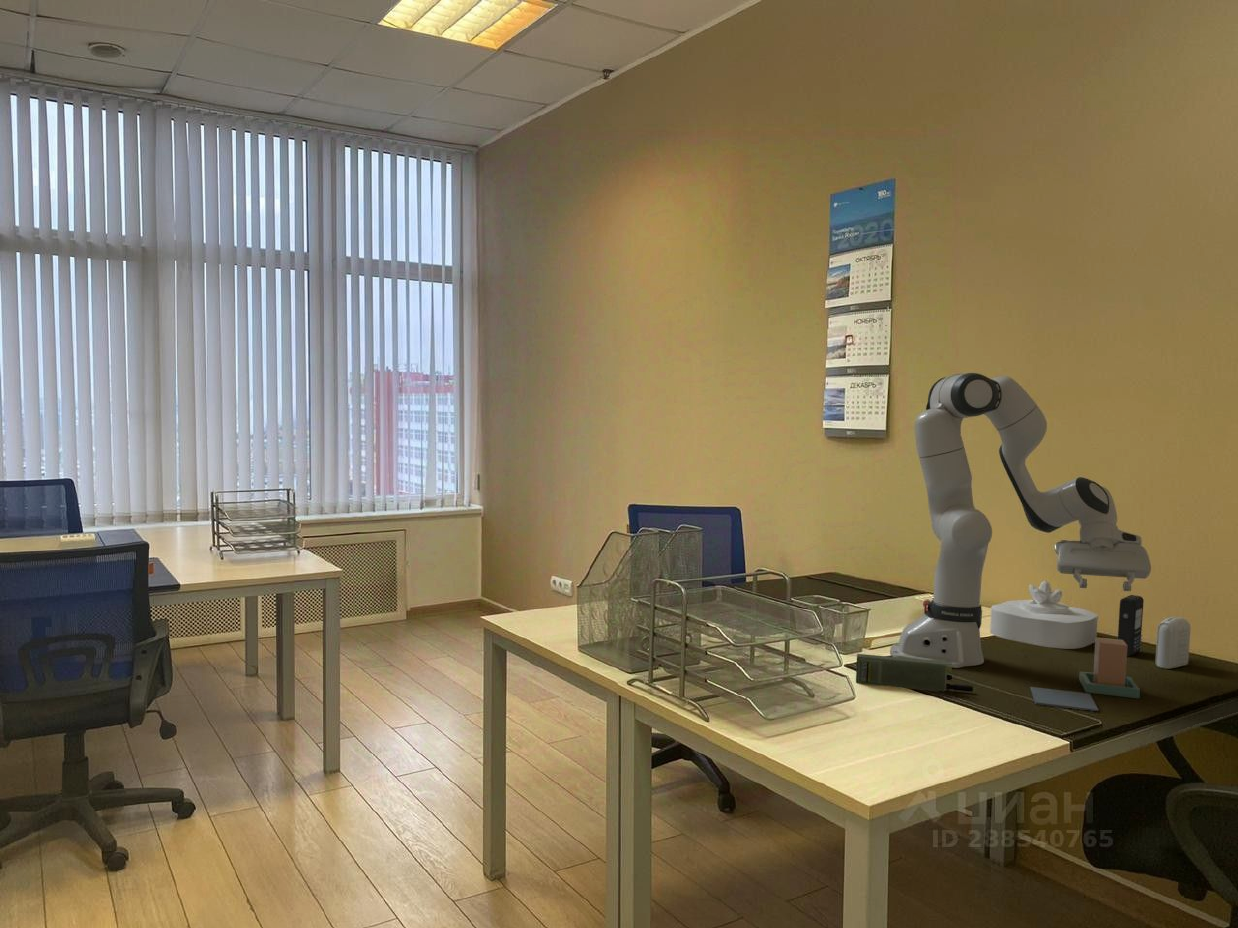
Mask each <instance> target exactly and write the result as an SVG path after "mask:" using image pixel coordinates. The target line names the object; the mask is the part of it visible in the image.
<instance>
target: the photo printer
mask: <svg viewBox="0 0 1238 928" xmlns="http://www.w3.org/2000/svg"><path fill="white" fill-rule="evenodd" d="M1190 639H1191V624H1190V622H1189V620H1187V619H1186V618H1184V617H1178V616H1171V617H1167V618H1166V619H1163V620H1162V621H1161V622H1160V623H1159V624H1158V625H1157V632H1156V649H1155V660H1154V661H1155V662H1154V663H1155V665H1156V667H1158V668H1161V669H1173V668H1174V669H1175V668H1179V667H1183V666H1187V665H1188V664H1189V658H1190V657H1189V655H1190Z"/></svg>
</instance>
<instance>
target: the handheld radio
mask: <svg viewBox="0 0 1238 928" xmlns="http://www.w3.org/2000/svg"><path fill="white" fill-rule="evenodd" d="M947 665H952V662H944V661H933V660H922V659H911V658H900V657H893V656H888V655H886V656H885V655H876V654H867V653H866V654H865V653H857V654H856V667H855V668H856V669H855V671H856V673H855V683H856V684H861V685H862V684H863V685H871V686H881V687H889V688H890V687H891V688H892V687H893V688H901V689H912V690H921V691H930V692H931V690H932V692H939V691H946V692H947V690H948V691H949V690H950V691H951V690H953V691H960V692H967V693H968V692H969V693H973V691H974V686H973V685H964V684H956V683H954V684H950V683H947V681H952V680H953V676H952V674H948V671H949V672H952V670H953V669H952V668H953V667H947ZM934 690H935V691H934Z"/></svg>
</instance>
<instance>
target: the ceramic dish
mask: <svg viewBox="0 0 1238 928" xmlns="http://www.w3.org/2000/svg"><path fill="white" fill-rule="evenodd" d="M1078 677H1079V678H1078V679H1079V682H1080V684H1081V685H1082V688H1083V689H1084V692H1085V693H1088V694H1099V695H1107V696H1115V697H1121V698H1133V699H1140V698H1141V697H1140V695H1141V689H1140V688H1139V686H1138V685H1137V684H1136V682H1135V681H1134V680H1133V678H1132V677H1131V676H1126V678H1125V687H1123V686H1114V685H1105V684H1096V683H1093V672H1089V671H1081V670H1080V671H1079V676H1078Z"/></svg>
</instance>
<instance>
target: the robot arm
mask: <svg viewBox="0 0 1238 928" xmlns="http://www.w3.org/2000/svg"><path fill="white" fill-rule="evenodd" d="M927 397H928V398H927V404H926V405H925V410H924V411H922V412H921V413H919V414H918V415H917V417H915V420H914V436H915V437H914V438H915V446H916V450H917V451H916V452H917V456H918V459H919V463H920V466H921V472H922V474H923V479H924V483H925V488H926V492H927V493H926V494H927V502H928V509H929V516H930V522H931V527H932V528H931V529H932V531H933V534H934V535H935V536H936V538H937V539H938V540H939V541H941V544H940V545H941V546H940V551H939V556H938V561H937V565H936V567H935V569H934V580H933V582H934V584H933V600H930V599H929V598H928V599H924V600H923V602H922V606H923V607H924V609H923V611H924V615H922V616H921V617H920V616H919V618H917V619H915V620H914V621H912V622H910V623H909V624H907V625H906V626H905V627H904V628H903V629H902V632H901V634H900V636H899V641H898V642H897V643H894V644H892V645H891V646H890V649H889V654H890V656H891V657H900V658H911V659H922V660H933V661H944V662H952V665H947V667H952V668H955V669H959V668H964V667H972V666H979V665H982V664H984V663H985V659H984V656H983V652H982V644H981V643H982V642H981V631H980V629H981V626H982V622H983V621H982V619H983V609H982V608H983V607H982V605H981V596H982V595H981V593H982V577H983V571H984V565H985V561H986V558H987V554H988V553H987V552H988V548H989V543H990V542H991V540H992V536H993V528H992V525H991V522H990V520H989V519H988V517H987V516H986V515H985V514H984V513H983V512H982V511H980V510H978V509H976V507H975V505H974V500H973V488H972V487H973V485H972V482H973V476H972V472H971V468H970V463H969V459H968V455H967V451H966V449H965V444H964V441H963V438H962V435H961V433H962V432H961V430H962V428H961V427H962V423H963V420H964V419H966V418H971V417H972V418H973V417H978V416H982V415H984V416H985V417H986V418H988V419H989V420H990V422H991V423H992V425H993V427H994V428H995V429H996V431H997V433H998V434H999V436H1000V440H1001V445H1000V447H999V450H998V454H999V458H1000V461H1001V463H1002V466H1003V468H1004V470H1005V472H1006V475H1007V476H1008V479H1009V480H1010V482H1011V485H1012V487H1013V489H1014V491H1015V493H1016V494H1017V497H1018V499H1019V500H1020V503H1021V505H1022V509H1023V511H1024V514H1025V518H1026V519H1027V522H1028V524H1030V526H1031V527H1032V528H1033V529H1036V530H1038V531H1040V532H1043V533H1047V534H1049V533H1052V532H1054V531H1056V530H1058V529H1060V528H1062V527H1064V526H1066V525H1068V524H1071V523H1073V522H1077V521H1078V524H1079V526H1080V529H1079V539H1080V540H1066V539H1063V540H1060V541H1058V542H1056V543H1055V544H1054V551H1055V553H1056V554H1057V559H1056V561H1057V563H1056V570H1057V572H1059V573H1060V574H1064V575H1066V574H1067V575H1073V578H1074V579H1075V581H1077V583H1078V585H1079V589H1087V588H1088V580H1087V579H1088V578H1083V576H1095V577H1096V576H1097V577H1098V576H1099V577H1110V578H1111V577H1114V578H1115V577H1116V578H1126V581H1125V580H1124V581H1123V584H1122V590H1123V592H1131V591H1132V584H1133V582H1134V581H1135V579H1147V578H1149V576H1150V573H1151V570H1152V566H1151V560H1150V557H1149V554H1148V552H1147V549H1146V547H1144V546H1143V545H1142V541H1143V540H1142V537H1141V536H1140V535H1137V534H1134V533H1131V532H1130V533H1129V532H1126V531H1124V530H1121V529H1119V527H1118V525H1117V522H1118V514H1117V508H1116V505H1115V501H1114V499H1113V495H1112V493H1111V492H1110V491H1109V489H1107V488H1106V487H1104V486H1103V485H1100V484H1099V483H1097V482H1096V481H1093V480H1091V479H1089V478H1086V477H1082V476H1080V477H1077V478H1074V479H1071V480H1068V481H1065V482H1064V483H1061V484H1060V485H1057V486H1055V487H1053V488H1051V489H1048V490H1045V491H1040V490H1038V489H1037V486H1036V485H1035V483H1034V480H1033V478H1032V476H1031V474H1030V472H1029V470H1028V467H1027V464H1026V459H1027V458H1028V456H1030V455H1031V453H1033V451H1035V449H1036V448H1037V447H1038V446H1039V445H1040V443H1042V440H1043V439H1044V437H1045V435H1046V432H1047V430H1048V429H1047V428H1048V423H1047V419H1046V417H1045V414H1044V412H1042V411H1043V410H1041V409H1040V407H1039V406H1038V404H1037V403H1036V402H1035V400H1034V398H1032V397H1031V396H1030V394H1029V393H1028V392H1027V391H1026V390H1025V389H1024V387H1022V386H1021V385H1020V384H1019V383H1018V382H1017V380H1015V379H1013V378H1012V377H1011V376H1008V375H999V376H995V377H993V378H989V377H988V376H985V375H983V374H980V373H977V372H967V373H955V374H952V375H948V376H945V377H942V378H939V379H938V380H937V381H935V382H934V383H933V385H932V386H931V388H930V389H929V393H928V396H927Z"/></svg>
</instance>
